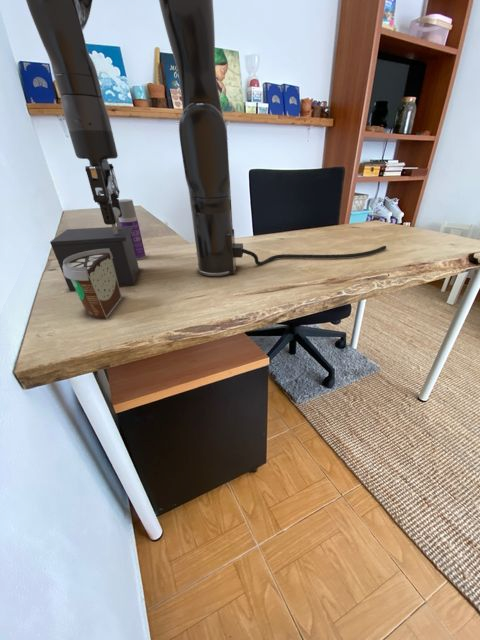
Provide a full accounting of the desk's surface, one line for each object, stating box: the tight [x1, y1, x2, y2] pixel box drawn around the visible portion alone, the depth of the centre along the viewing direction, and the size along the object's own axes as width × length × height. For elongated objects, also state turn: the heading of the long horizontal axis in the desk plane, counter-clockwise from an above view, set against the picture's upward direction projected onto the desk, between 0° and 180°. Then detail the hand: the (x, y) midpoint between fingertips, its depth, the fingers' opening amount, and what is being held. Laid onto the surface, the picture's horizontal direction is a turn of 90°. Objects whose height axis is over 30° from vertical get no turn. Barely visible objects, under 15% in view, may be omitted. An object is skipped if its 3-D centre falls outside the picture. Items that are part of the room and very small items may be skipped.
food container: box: [62, 249, 123, 320], centre depth 55 cm, size 12×6×10 cm, turn 5°
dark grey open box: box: [51, 235, 140, 292], centre depth 68 cm, size 14×12×10 cm
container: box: [118, 198, 147, 261], centre depth 81 cm, size 5×5×15 cm
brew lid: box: [49, 207, 133, 247], centre depth 64 cm, size 14×12×5 cm
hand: (114, 220), depth 65 cm, fingers open, 8 cm apart
